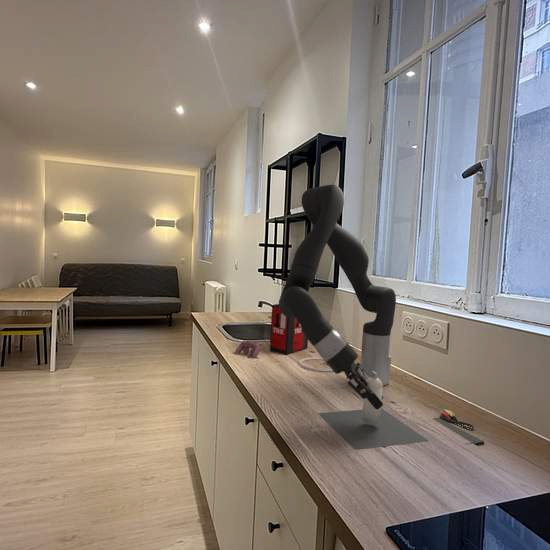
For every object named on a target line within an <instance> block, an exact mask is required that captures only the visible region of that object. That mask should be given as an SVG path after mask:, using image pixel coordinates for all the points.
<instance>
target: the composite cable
mask: <svg viewBox="0 0 550 550" xmlns="http://www.w3.org/2000/svg"><path fill="white" fill-rule="evenodd" d="M442 410H443V411H441V410H438V413H440V415H439V418H440V419H442V420H444V421H446V422H447V421H448V423H450V422H453V423H456V424H459V425H461V426H463V427H465V428H469V427H466V426H464V425H467V426H470V427H472V428H469V429H474V430H475V427H474V425H473V424H471V423H467V422H463V421H459V420H458V418H457V415H456V414H455V413H454V412H453V411H451V410H448V409H444V408H442ZM453 423H452V424H453ZM456 424H455V425H456ZM462 424H463V425H462ZM465 428H464V429H465Z"/></svg>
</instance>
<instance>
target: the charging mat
mask: <svg viewBox="0 0 550 550" xmlns="http://www.w3.org/2000/svg"><path fill="white" fill-rule="evenodd" d="M362 413H363V409H353V410H342V411H341V410H340V411H331V412H330V411H329V412H318V413H317V415H319V416H320V417H321V419H323V420H324V421H325V422H326V423H327V424H328V425H329V426H330V427H331V428H332V429H333V430H334V431H335V432H336V433H337V434H338V435H339V436H340V437H341V438H343V439H344V440H345V442H346V443H348V444H349V446H351V448H353V449H354V450H355V451H357V450H364V449H365V450H366V449H367V450H368V449H376V448H385V447H391V446H399V445H407V444H408V445H409V444H414V443H415V444H416V443H425V442H426V443H427V442H429V441H430V440H429V439H427V438H426V437H424V436H423V435H421V434H420V433H419V432H417V431H415V430H414V429H413V428H411V427H410V426H408V425H407V424H406V423H404V422H402V421H401V420H400V419H398V418H397V417H395V416H394V415H392V414H391V413H390V412H388V411H387V410H385V409H384V408H382V407H381V412H380V422H379V423H378V424H369V423H366V422H364V421H363V420H362Z"/></svg>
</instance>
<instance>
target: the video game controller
mask: <svg viewBox="0 0 550 550" xmlns="http://www.w3.org/2000/svg"><path fill="white" fill-rule="evenodd" d="M261 351H262V346H261V345H260V344H259V343H258V342H257V341H254V340H249V339H248V340H242V341H241V342H240V343H239V345H238V346H237V348H236V349H235V354H236V355H238V354H237V353H239V354H241V352H243V354H244V355H248V354H249V355H250V356H252V358H253V359H256V358H257V357H258V355H259V353H260V352H261Z"/></svg>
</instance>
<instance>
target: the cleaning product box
mask: <svg viewBox="0 0 550 550" xmlns="http://www.w3.org/2000/svg"><path fill="white" fill-rule="evenodd" d="M269 336H270V338H269V339H270V340H269V352H271V353H276V354H279V355H285V356H289V355H292V354H296V353H298V352H301V351H304V350H307V349H308V346H309V345H308V344H309V340H308V339H307V338H306V337H305V335H304V334H303V332H302V330H301V325H300V323H299V322H298V321H297V319H296V318H295V317H292V318H290V317H286V316H284V315H283V314H282V313H281V311H280V309H279V303H277V304H272V306H271V322H270V334H269Z"/></svg>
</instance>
